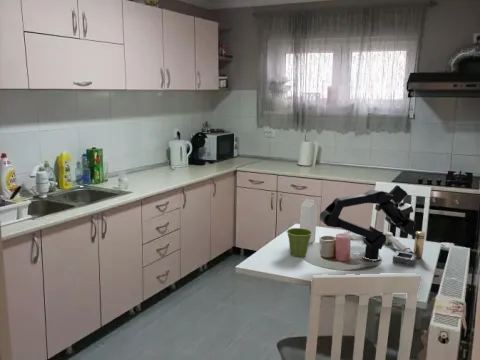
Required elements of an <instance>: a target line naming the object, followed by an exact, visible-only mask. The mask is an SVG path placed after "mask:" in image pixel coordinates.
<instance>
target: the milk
mask: <svg viewBox="0 0 480 360" xmlns="http://www.w3.org/2000/svg"><path fill="white" fill-rule="evenodd" d="M317 218H318V205H317V204H316V202H315V200H314V199H310V198H307V197H306V198H304V201H303V202H302V204H301V205H300V217H299V228H303V229H308V230H310V231H312V234H311V236H310V239H309V243H308V245H309V244H312V243H314V242H316V233H317Z"/></svg>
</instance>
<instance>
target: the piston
mask: <svg viewBox="0 0 480 360" xmlns="http://www.w3.org/2000/svg"><path fill="white" fill-rule="evenodd" d="M415 233H416V237H414V244H413V251H412V252H413V253H414V254H417V256H416V260H422V259H423V253H424V252H423V251H424V243H425V237H426V235H425V233H426V232H424V231H422V230H420V231H419V230H417V231H415Z"/></svg>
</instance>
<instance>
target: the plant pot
mask: <svg viewBox="0 0 480 360" xmlns="http://www.w3.org/2000/svg"><path fill="white" fill-rule="evenodd" d="M286 233H287V236H288V243H289V252H290V253H289V254H290V256H293V257H299V258H302V257H305V256H306V255H307V254H308V253H307V252H308V247H309V244H310V243H309V239H310V236H311V234H312V231H310V230H308V229H303V228H300V227H294V228H289V229H287V230H286ZM308 243H309V244H308Z"/></svg>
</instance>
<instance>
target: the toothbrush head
mask: <svg viewBox="0 0 480 360" xmlns="http://www.w3.org/2000/svg"><path fill="white" fill-rule="evenodd" d="M384 234H385V235H386V241H385V244H384V245H386V244H388V245H387V246H391V244H392V245H394V246H395V248H397V250H398V251H401V252H406V253H411V254H414V253H413V252H414V251H412V249H411V248H410V247H408V246H407V245H405V244H404V243H402V241H400V240H399V239H398V238H397V237H395V236H394V235H393V232H390V231H386V232H385V233H384Z"/></svg>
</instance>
